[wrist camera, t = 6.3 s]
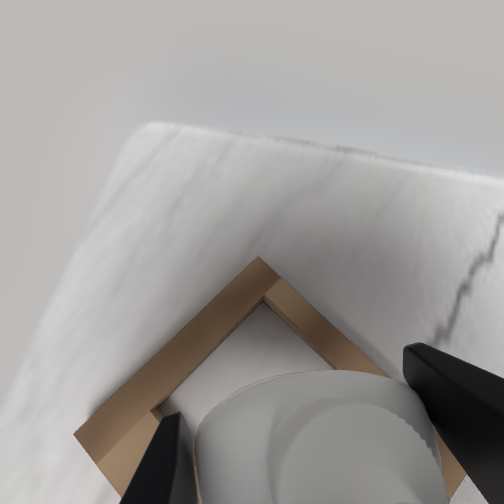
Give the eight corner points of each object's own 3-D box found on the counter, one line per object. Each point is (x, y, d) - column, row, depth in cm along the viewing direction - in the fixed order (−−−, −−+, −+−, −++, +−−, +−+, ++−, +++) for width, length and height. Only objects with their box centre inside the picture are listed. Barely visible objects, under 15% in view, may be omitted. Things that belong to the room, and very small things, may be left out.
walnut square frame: (456, 451, 20) (476, 458, 18) (294, 696, 16) (300, 734, 14) (256, 265, 23) (257, 256, 22) (87, 429, 20) (73, 434, 18)
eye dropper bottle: (241, 345, 16) (224, 254, 4) (360, 390, 15) (698, 419, 4) (204, 447, 14) (35, 703, 3) (334, 502, 14) (763, 1099, 2)
